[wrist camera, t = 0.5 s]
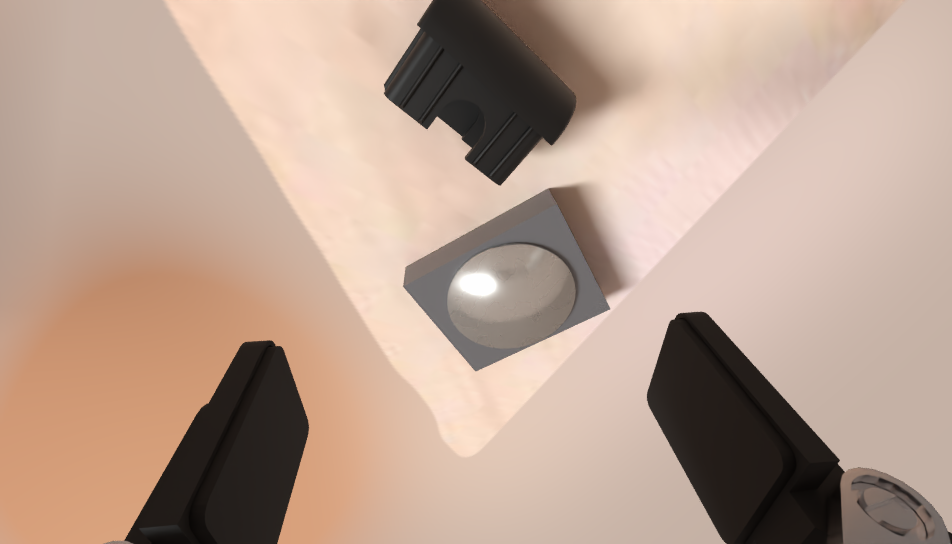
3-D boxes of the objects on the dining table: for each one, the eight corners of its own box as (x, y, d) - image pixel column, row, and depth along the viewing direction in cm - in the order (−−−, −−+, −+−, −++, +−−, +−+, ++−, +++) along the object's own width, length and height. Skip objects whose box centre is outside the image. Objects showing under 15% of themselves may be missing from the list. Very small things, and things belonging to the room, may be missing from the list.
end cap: (561, 85, 30) (590, 105, 24) (496, 162, 32) (508, 196, 27) (450, -25, 26) (453, -33, 20) (386, 73, 28) (373, 90, 23)
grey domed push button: (548, 188, 34) (558, 205, 31) (599, 289, 40) (611, 311, 37) (405, 267, 37) (402, 289, 34) (473, 349, 43) (475, 374, 40)
